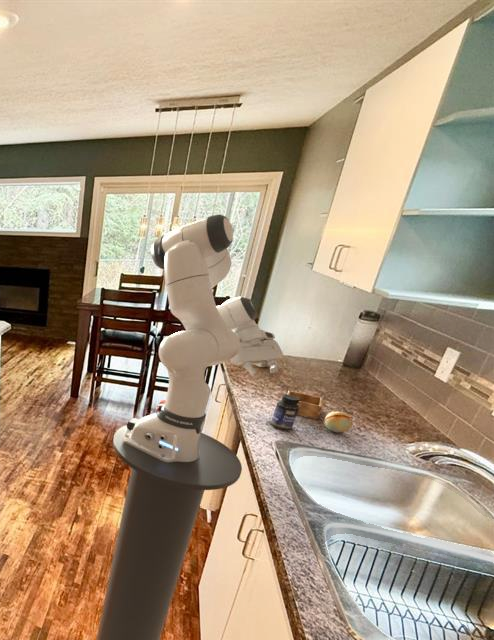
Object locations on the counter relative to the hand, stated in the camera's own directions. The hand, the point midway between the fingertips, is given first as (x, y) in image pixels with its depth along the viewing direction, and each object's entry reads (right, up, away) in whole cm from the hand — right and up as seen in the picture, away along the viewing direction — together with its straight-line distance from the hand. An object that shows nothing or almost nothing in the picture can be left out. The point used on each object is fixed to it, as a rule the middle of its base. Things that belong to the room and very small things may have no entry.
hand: (264, 373), depth 138 cm
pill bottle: (+3, -18, -4) cm, 19 cm away
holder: (+19, -14, +8) cm, 25 cm away
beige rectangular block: (+37, +5, +55) cm, 67 cm away
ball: (+19, -20, -6) cm, 28 cm away
